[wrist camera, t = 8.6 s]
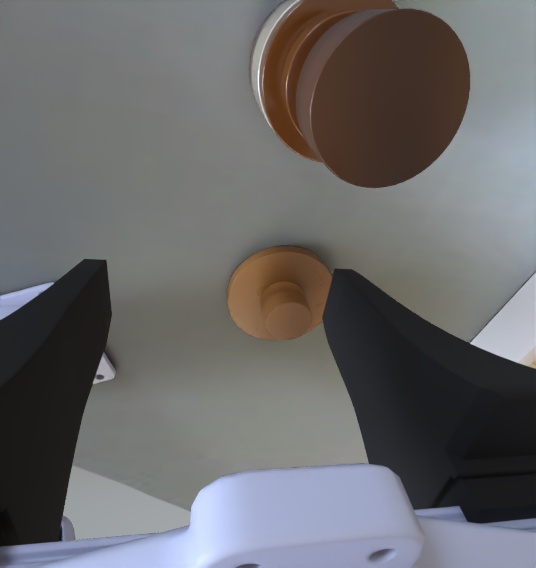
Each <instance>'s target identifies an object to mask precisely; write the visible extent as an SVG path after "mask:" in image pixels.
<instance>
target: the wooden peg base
mask: <svg viewBox="0 0 536 568" xmlns="http://www.w3.org/2000/svg"><path fill="white" fill-rule="evenodd" d="M331 281H332V275H331V273H330V271H329V269H328V267H327V266H326V264H325V263H324V262H323V260H322V259H321V258H319V257H318V256H317V255H316V254H314V253H312V252H311V251H308V250H306V249H303V248H299V247H294V246H276V247H271V248H267V249H264V250H262V251H259V252H257V253H255V254H253V255H252V256H250V257H249V258H247V259H246V260H245V261H243V262H242V263H241V264H240V265H239V266H238V268H237V269H236V270H235V272H234V273H233V275H232V277H231V279H230V281H229V284H228V288H227V302H228V309H229V313H230V315H231V317H232V319H233V321H234V322H235V323H236V325H237V326H238V327H239V328H240V329H242V330H243V331H244V332H246V333H247V334H249V335H251V336H254V337H257V338H260V339H265V340H290V339H294V338H297V337H299V336H301V335H303V334H304V333H306V332H308V331H310V330H311V329H313V328H314V327H316V326H317V325H318V324H319V323H320V322H321V321H322V320H323V319H322V316H323V312H324V308H325V304H326V300H327V296H328V293H329V289H330V285H331Z"/></svg>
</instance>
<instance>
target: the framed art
mask: <svg viewBox="0 0 536 568" xmlns="http://www.w3.org/2000/svg"><path fill="white" fill-rule="evenodd" d="M470 344H472V345H474V346H477V347H479V348H481V349H483V350H486V351H488V352H491V353H493V354H496V355H498V356H501V357H503V358H506V359H509V360H512V361H514V362H517V363H520V364H523V365H526V366H529V367H532V368H535V369H536V273H535V274H534V275H533V276H532V277H531V278H530V279H529V280H528V281H527V282H526V283H525V284H524V285H523V287H522V288H521V289H520V290H519V291H518V292H517V293H516V294H515V295H514V296H513V297H512V298H511V299H510V301H509V302H508V303H507V304H506V305H505V306H504V307H503V308H502V309H501V310H500V311H499V312H498V314H497V315H496V316H495V317H494V318H493V319H492V320H491V321H490V322H489V323H488V324H487V325H486V326H485V328H484V329H483V330H482V331H481V332H480V333H479V334H478V335H477V336H476V337H475V338H474V339H473V340H472V342H471V343H470Z"/></svg>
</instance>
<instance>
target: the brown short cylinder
mask: <svg viewBox="0 0 536 568" xmlns="http://www.w3.org/2000/svg"><path fill="white" fill-rule="evenodd" d="M469 91H470V70H469V63H468V59H467V55H466V52H465V50H464V47H463V45H462V43H461V41H460V39H459V38H458V36H457V34H456V33H455V32H454V31H453V30H452V28H451V27H450V26H449V25H448V24H447V23H445V22H444V21H443V20H442V19H440V18H438V17H437V16H435V15H433V14H431V13H428V12H425V11H422V10H417V9H370V10H365V11H360V12H357V13H354V14H351V15H349V16H347V17H345V18H344V19H342V20H340V21H339V22H337V23H336V24H334V25H333V26H332V27H330V28H329V29H328V30H327V31H326V32H325V33H324V34H323V35H322V36H321V37H320V39H319V40H318V41H317V42H316V43H315V45H314V46H313V48H312V49H311V51H310V52H309V54H308V56H307V58H306V60H305V62H304V64H303V67H302V69H301V72H300V75H299V79H298V83H297V89H296V115H297V120H298V124H299V127H300V130H301V132H302V135H303V137H304V138H305V140H306V142H307V143H308V145H309V146H310V148H311V149H312V150H313V151H314V152H315V154H316V155H317V156H318V157H319V158H320V160H321V161H322V162H323V163H324V164H325V166H326V167H327V168H328V169H329V170H330V171H331V172H332V173H333V174H335V175H336V176H337V177H339V178H340V179H342V180H344V181H346V182H348V183H350V184H353V185H356V186H361V187H367V188H380V187H387V186H392V185H396V184H399V183H402V182H404V181H406V180H408V179H411V178H412V177H414V176H416V175H417V174H419V173H421V172H422V171H423V170H425V169H426V168H427V167H429V166H430V165H431V164H432V163H433V162H434V161H435V160H436V159H437V158H438V157H439V156H440V155H441V154H442V153H443V152H444V151H445V149H446V148H447V146H448V145H449V144H450V142H451V141H452V139H453V138H454V136H455V134H456V133H457V131H458V128H459V126H460V124H461V122H462V120H463V117H464V114H465V111H466V107H467V103H468V99H469Z"/></svg>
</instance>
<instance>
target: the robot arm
mask: <svg viewBox="0 0 536 568" xmlns="http://www.w3.org/2000/svg"><path fill="white" fill-rule="evenodd" d="M41 292H42V293H41ZM111 316H112V311H111V301H110V292H109V282H108V272H107V262H106V260H94V259H84V260H83V261H81V262H80V263H79V264H78V265H76V266H75V267H74V268H73V269H71V270H70V271H69V272H68V273H67V274H65V275H64V276H63V277H62V278H60V279H59V280H58V281H56V282H55V283H53V282H51V283H46V284H42V285H39V286H35V287H31V288H27V289H24V290H20V291H16V292H12V293H9V294H5V295H1V296H0V568H536V369H535V368H532V367H529V366H526V365H523V364H520V363H517V362H514V361H512V360H509V359H506V358H503V357H501V356H498V355H496V354H493V353H491V352H488V351H486V350H483V349H481V348H479V347H477V346H474V345H472V344H470V343H468V342H466V341H463V340H461V339H459V338H457V337H455V336H453V335H451V334H449V333H448V332H446V331H444V330H442V329H440V328H438V327H437V326H435V325H433V324H431V323H430V322H428V321H426V320H425V319H423V318H421V317H420V316H418V315H417V314H415V313H414V312H412V311H411V310H409V309H407V308H406V307H405V306H403V305H402V304H400V303H399V302H397V301H396V300H394V299H393V298H392V297H390V296H389V295H388V294H386V293H385V292H383V291H382V290H381V289H379V288H378V287H377V286H375V285H374V284H373V283H371V282H370V281H369V280H367V279H366V278H364V277H363V276H362V275H360V274H359V273H357V272H355V271H354V270H352V269H335V270H334V273H333V277H332V281H331V285H330V289H329V293H328V296H327V300H326V304H325V308H324V312H323V316H322V319H323V324H324V328H325V332H326V336H327V340H328V343H329V346H330V349H331V351H332V354H333V356H334V359H335V361H336V363H337V366H338V368H339V371H340V373H341V376H342V378H343V380H344V383H345V385H346V388H347V390H348V393H349V395H350V398H351V401H352V403H353V406H354V409H355V413H356V416H357V420H358V423H359V427H360V430H361V434H362V438H363V442H364V445H365V449H366V453H367V457H368V461H369V464H364V463H359V464H343V465H326V466H310V467H294V468H278V469H262V470H248V471H244V472H239V473H234V474H229V475H225V476H222V477H221V478H219V479H217V480H216V481H214V482H212V483H211V484H209V485H207V486H205V487H204V488H203V489H202V490H201V491H200V492H199V493H198V495H197V497H196V499H195V501H194V503H193V504H192V506H191V522H190V525H188V526H184V527H181V528H177V529H173V530H170V531H166V532H161V533H150V534H139V535H127V536H116V537H105V538H93V539H82V540H75V534H74V528H73V525H72V523H71V521H70V520H69V519H68V518H67V517H65V516H63V510H64V505H65V500H66V494H67V488H68V483H69V478H70V473H71V468H72V463H73V458H74V453H75V448H76V443H77V439H78V434H79V429H80V425H81V420H82V416H83V412H84V409H85V405H86V402H87V399H88V396H89V393H90V390H91V387H92V385H93V384H95V383H99V382H103V381H107V380H110V379H113V378H114V377H115V373H116V371H115V368H114V367H113V365H112V364H111V362H110V361H109V359H108V358H107V356H106V355H105V353H104V349H105V346H106V343H107V338H108V333H109V327H110V322H111ZM98 374H101V375H98Z"/></svg>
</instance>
